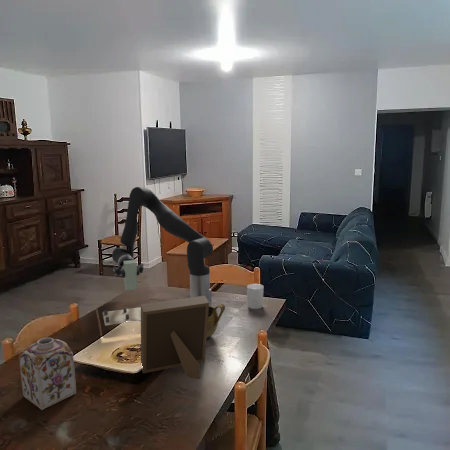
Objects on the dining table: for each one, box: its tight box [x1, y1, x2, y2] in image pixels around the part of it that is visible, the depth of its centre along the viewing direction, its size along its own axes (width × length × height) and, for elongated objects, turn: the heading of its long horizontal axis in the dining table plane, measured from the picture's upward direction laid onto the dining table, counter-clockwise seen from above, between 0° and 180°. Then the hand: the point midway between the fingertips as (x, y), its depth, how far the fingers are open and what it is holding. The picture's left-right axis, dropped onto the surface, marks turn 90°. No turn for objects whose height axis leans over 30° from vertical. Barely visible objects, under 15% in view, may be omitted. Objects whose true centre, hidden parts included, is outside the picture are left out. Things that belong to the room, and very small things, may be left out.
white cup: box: [246, 283, 265, 310], centre depth 203 cm, size 8×8×10 cm
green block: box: [123, 259, 138, 291], centre depth 189 cm, size 5×5×12 cm
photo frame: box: [140, 296, 209, 380], centre depth 143 cm, size 15×22×25 cm
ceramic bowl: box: [174, 298, 226, 340], centre depth 170 cm, size 22×17×15 cm
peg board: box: [102, 306, 141, 326], centre depth 192 cm, size 24×16×4 cm, turn 110°
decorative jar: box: [19, 337, 77, 411], centre depth 131 cm, size 12×12×18 cm
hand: (131, 274), depth 186 cm, fingers closed on green block, 5 cm apart
